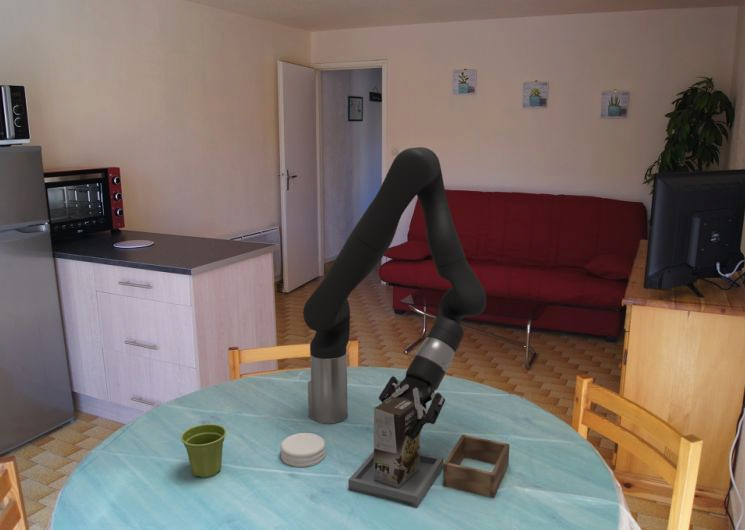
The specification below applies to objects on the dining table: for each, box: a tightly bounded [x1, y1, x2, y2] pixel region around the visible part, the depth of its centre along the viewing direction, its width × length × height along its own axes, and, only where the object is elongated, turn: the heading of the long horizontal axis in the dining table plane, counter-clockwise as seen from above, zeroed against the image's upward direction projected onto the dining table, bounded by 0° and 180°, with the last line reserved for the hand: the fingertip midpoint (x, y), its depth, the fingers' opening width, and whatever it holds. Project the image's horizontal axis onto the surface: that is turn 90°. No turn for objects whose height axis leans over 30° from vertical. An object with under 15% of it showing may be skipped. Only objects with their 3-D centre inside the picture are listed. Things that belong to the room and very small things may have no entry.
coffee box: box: [373, 397, 421, 488], centre depth 127 cm, size 9×6×16 cm
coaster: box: [280, 432, 326, 468], centre depth 138 cm, size 10×10×4 cm
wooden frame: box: [442, 434, 510, 499], centre depth 129 cm, size 11×14×5 cm
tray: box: [348, 450, 444, 508], centre depth 129 cm, size 15×16×2 cm
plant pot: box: [180, 423, 227, 479], centre depth 131 cm, size 9×9×9 cm
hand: (394, 430), depth 126 cm, fingers open, 8 cm apart
